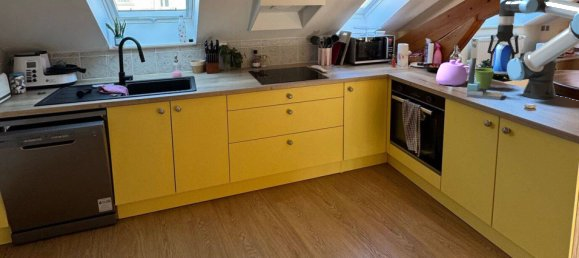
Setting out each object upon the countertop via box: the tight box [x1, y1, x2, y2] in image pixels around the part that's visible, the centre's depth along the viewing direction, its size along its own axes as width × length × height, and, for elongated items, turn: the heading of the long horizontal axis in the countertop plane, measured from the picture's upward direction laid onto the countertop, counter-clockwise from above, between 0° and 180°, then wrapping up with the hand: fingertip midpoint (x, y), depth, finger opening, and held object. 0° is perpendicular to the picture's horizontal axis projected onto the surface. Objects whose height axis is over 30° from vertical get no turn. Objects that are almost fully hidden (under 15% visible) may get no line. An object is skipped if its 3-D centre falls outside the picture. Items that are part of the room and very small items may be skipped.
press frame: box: [466, 88, 505, 101], centre depth 237 cm, size 17×11×4 cm, turn 56°
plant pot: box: [475, 67, 495, 90], centre depth 255 cm, size 12×12×11 cm
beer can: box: [492, 42, 512, 75], centre depth 236 cm, size 8×8×16 cm
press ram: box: [466, 57, 480, 92], centre depth 238 cm, size 6×8×19 cm
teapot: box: [435, 58, 470, 87], centre depth 270 cm, size 23×21×15 cm
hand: (501, 66), depth 237 cm, fingers closed on beer can, 8 cm apart
